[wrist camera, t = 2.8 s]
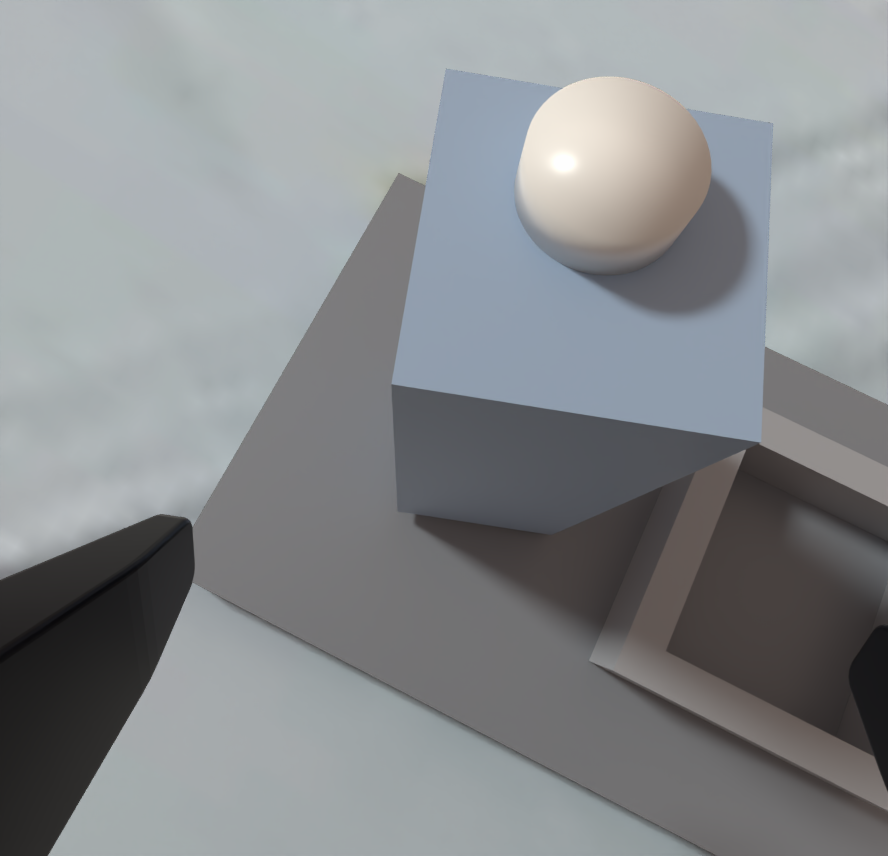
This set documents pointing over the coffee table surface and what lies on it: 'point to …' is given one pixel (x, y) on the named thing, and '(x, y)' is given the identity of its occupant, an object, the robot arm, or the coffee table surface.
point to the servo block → (579, 301)
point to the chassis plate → (585, 588)
